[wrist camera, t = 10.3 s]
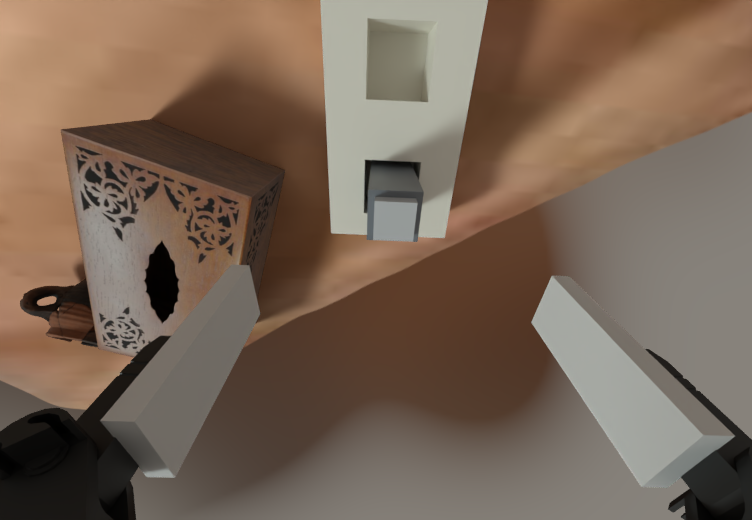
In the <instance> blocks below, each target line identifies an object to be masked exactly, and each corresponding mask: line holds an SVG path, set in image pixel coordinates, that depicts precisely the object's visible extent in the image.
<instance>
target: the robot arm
mask: <svg viewBox="0 0 752 520" xmlns="http://www.w3.org/2000/svg"><path fill="white" fill-rule="evenodd" d="M259 316H260V310H259V306H258V302H257V297H256V293H255V288H254V284H253V280H252V275H251V271H250V266H249V265H230V267H229V268H228V269H227V270H226V271H225V273H224V274H223V275H222V276H221V277H220V279H219V280H218V281H217V282H216V283H215V284H214V286H213V287H212V288H211V289H210V290H209V292H208V293H207V294H206V295H205V296H204V298H203V299H202V300H201V301H200V302H199V304H198V305H197V306H196V307H195V308H194V310H193V311H192V312H191V313H190V314H189V315H188V317H187V318H186V319H185V320H184V321H183V323H182V324H181V325H180V326H179V327H178V329H177V330H176V331H175V332H174V333H173V335H172V336H159V337H158V338H156V339H155V340H153V341H152V342H150V343H149V344H147V345H146V346H145V347H143V348H142V349H141V350H140V352H139V353H138V354H137V355H136V356H135V357H134V358H133V359H132V360H131V363H130V364H128V365H127V366H126V367H125V368H124V369H123V370H122V371H121V372H120V375H119V376H117V377H116V378H115V379H114V380H113V381H112V382H111V383H110V385H109V386H108V387H107V388H106V389H105V390H104V391H103V392H102V393H101V394H100V396H99V397H98V398H97V399H96V400H95V401H94V402H93V403H92V404H91V405H90V406H89V408H88V409H87V410H86V411H85V412H84V413H83V414H82V415H81V416H80V418H79V419H78V420H77V421H75V420H74V419H73V418H72V416H71V415H70V414H69V413H68V412H67V411H65V410H63V409H60V408H50V409H44V410H41V411H38V412H34V413H31V414H29V415H27V416H25V417H23V418H21V419H19V420H17V421H15V422H13V423H12V424H10V425H9V426H7V427H6V428H5V429H3V430H2V431H0V520H136V514H135V504H134V493H133V486H132V484H131V482H130V480H131V478H132V476H133V475H134V473H135V472H136V470H137V468H138V467H139V468H140V469H141V471H142V472H143V473H144V474H145V475H146V477H174V478H175V476H176V475H177V473H178V471H179V469H180V467H181V465H182V463H183V461H184V459H185V457H186V455H187V453H188V452H189V450H190V448H191V446H192V444H193V442H194V440H195V438H196V436H197V434H198V432H199V430H200V429H201V427H202V425H203V423H204V421H205V419H206V417H207V415H208V413H209V411H210V409H211V408H212V406H213V404H214V402H215V400H216V398H217V396H218V394H219V392H220V390H221V388H222V386H223V385H224V383H225V380H226V379H227V377H228V375H229V373H230V371H231V369H232V367H233V365H234V363H235V361H236V360H237V358H238V356H239V354H240V352H241V350H242V348H243V346H244V344H245V342H246V340H247V339H248V337H249V335H250V333H251V331H252V329H253V327H254V325H255V323H256V321H257V319H258V317H259ZM532 324H533V326H534V327H535V329H536V330H537V332H538V333H539V335H540V336H541V338H542V339H543V341H544V342H545V344H546V345H547V346H548V348H549V349H550V351H551V353H552V354H553V355H554V357H555V359H556V360H557V361H558V363H559V365H560V366H561V367H562V369H563V370H564V372H565V373H566V375H567V376H568V378H569V379H570V381H571V382H572V384H573V385H574V387H575V388H576V390H577V391H578V393H579V394H580V396H581V397H582V399H583V400H584V402H585V403H586V405H587V406H588V408H589V409H590V411H591V412H592V414H593V415H594V417H595V418H596V420H597V421H598V423H599V424H600V426H601V427H602V429H603V430H604V432H605V433H606V435H607V436H608V438H609V439H610V441H611V442H612V444H613V445H614V447H615V448H616V450H617V451H618V453H619V454H620V456H621V457H622V459H623V460H624V462H625V463H626V465H627V466H628V468H629V469H630V471H631V472H632V474H633V475H634V477H635V478H636V480H637V481H638V482H639V484H640V486H641V487H663V488H664V487H666V488H668V487H669V486H670V485H672V484H673V483H675V482H676V481H677V480H678V479H680V478H682V479H683V480H684V481H685V482H686V484H687V485H688V486H689V488H690V489H689V490H687V491H686V492H684V493H683V494H682V495H680V496H679V497H677V498H676V499H675V500H673V501H672V502H671V503H670V504H669V508H668V509H669V510H670V511H672V512H675V511H676V510H678V509H679V508H681V507H682V506H685V512H686V513H684V514H683V515H682V516H681V518H683V519H684V520H752V440H751V439H750V438H749V437H748V436H747V435H746V434H745V433H744V432H743V431H742V430H740V429H739V428H738V427H737V426H736V425H735V424H734V423H733V422H732V421H731V420H730V419H729V418H728V417H726V416H725V415H724V414H723V413H722V412H721V411H720V410H719V409H718V408H717V407H716V406H715V405H713V404H712V403H711V402H710V401H709V400H708V399H707V398H706V397H705V396H704V395H703V394H701V392H700V391H696V388H695V387H694V386H693V385H692V384H691V383H690V382H689V381H688V380H687V379H684V378H683V376H682V375H681V374H680V373H679V372H678V371H677V370H676V369H675V368H674V367H673V366H672V365H671V364H670V363H668V362H667V361H666V360H664V359H663V358H661V357H660V356H658V355H657V354H655V353H654V352H652V351H651V350H649V349H644V348H643V347H642V346H641V345H640V344H639V343H638V342H637V341H636V340H635V339H634V338H633V337H632V336H631V335H630V334H629V333H628V332H627V331H626V330H624V329H623V328H622V327H621V326H620V325H619V324H618V323H617V322H616V321H615V320H614V319H613V318H612V317H611V316H610V315H609V314H608V313H607V312H606V311H605V310H603V308H602V307H601V306H600V305H598V304H597V303H596V302H595V301H594V300H593V299H592V298H591V297H590V296H589V295H588V294H587V293H586V292H585V291H584V290H583V289H582V288H581V287H580V286H579V285H578V284H577V283H576V282H575V281H574V280H572V279H571V278H570V277H569V276H552V277H551V279H550V281H549V284H548V286H547V288H546V291H545V293H544V295H543V297H542V300H541V302H540V304H539V306H538V309H537V311H536V313H535V315H534V318H533V320H532Z"/></svg>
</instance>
